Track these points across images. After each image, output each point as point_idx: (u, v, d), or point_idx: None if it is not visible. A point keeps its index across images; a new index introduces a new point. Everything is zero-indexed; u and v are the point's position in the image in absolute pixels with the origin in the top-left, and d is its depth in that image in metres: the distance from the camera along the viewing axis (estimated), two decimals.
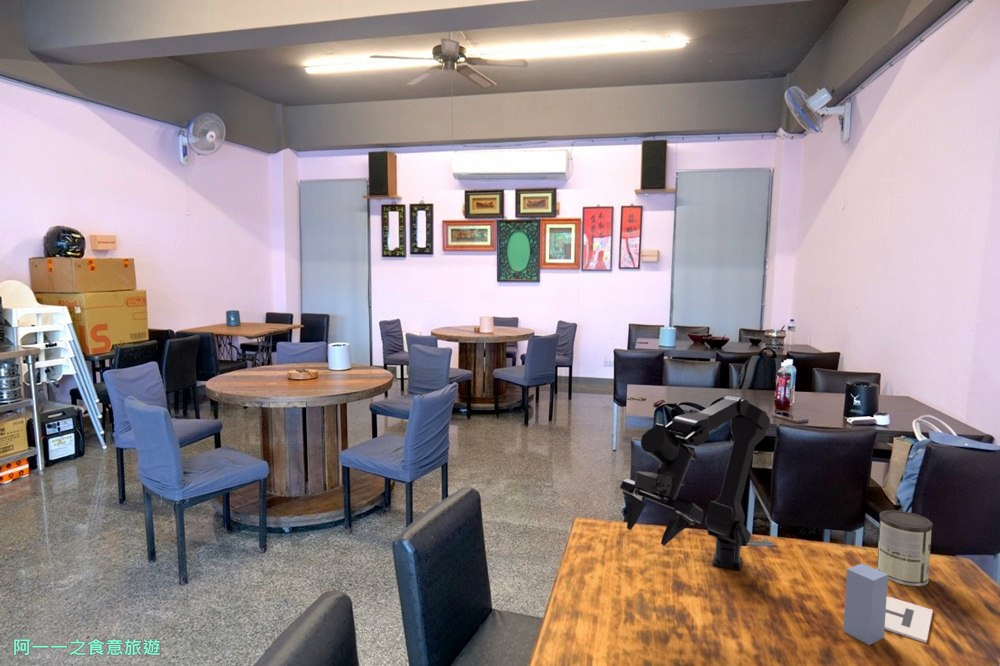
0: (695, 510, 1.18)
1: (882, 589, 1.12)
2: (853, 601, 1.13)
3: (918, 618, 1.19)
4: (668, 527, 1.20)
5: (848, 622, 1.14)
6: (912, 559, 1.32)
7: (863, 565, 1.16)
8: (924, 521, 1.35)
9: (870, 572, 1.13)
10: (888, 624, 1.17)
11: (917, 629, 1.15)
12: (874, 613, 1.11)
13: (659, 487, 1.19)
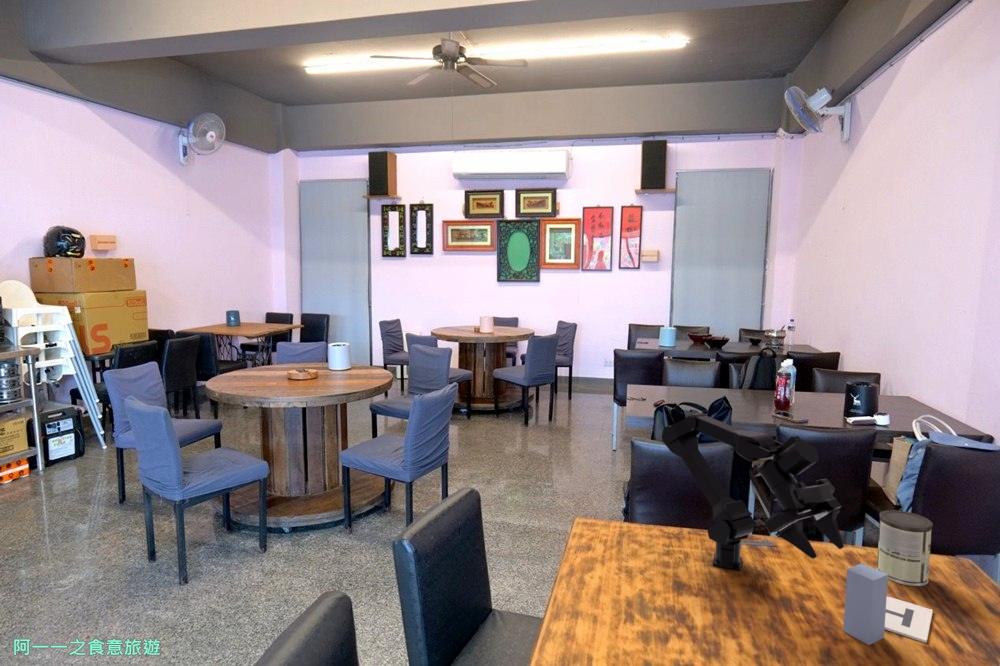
0: None
1: (882, 589, 1.12)
2: (853, 601, 1.13)
3: (918, 618, 1.19)
4: (836, 529, 1.24)
5: (848, 622, 1.14)
6: (912, 559, 1.32)
7: (863, 565, 1.16)
8: (924, 521, 1.35)
9: (870, 572, 1.13)
10: (888, 624, 1.17)
11: (917, 629, 1.15)
12: (874, 613, 1.11)
13: (833, 490, 1.22)
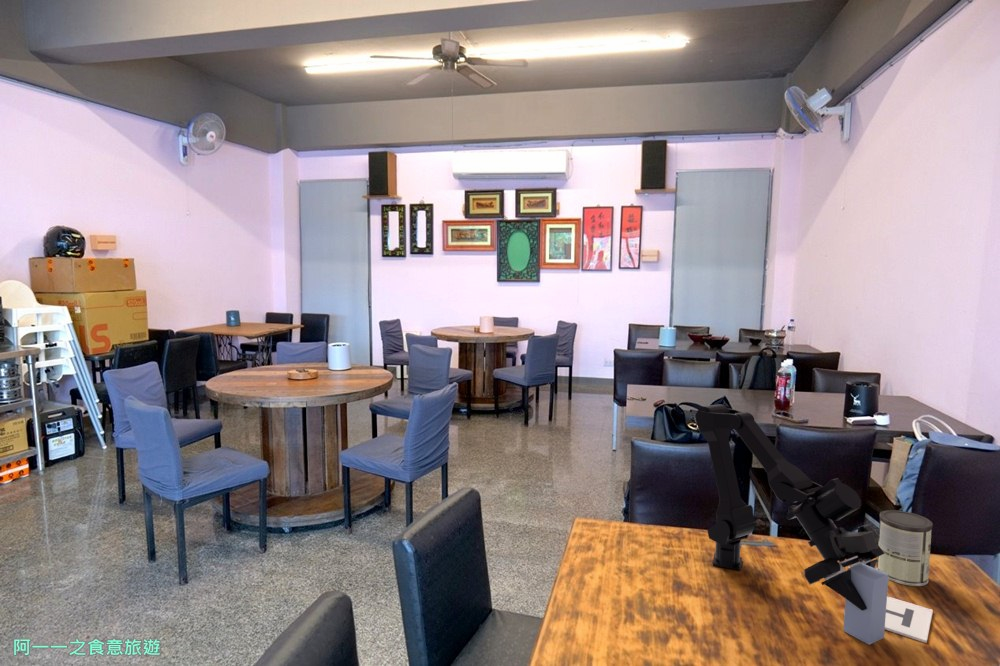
0: None
1: (882, 589, 1.12)
2: None
3: (918, 618, 1.19)
4: None
5: (848, 622, 1.14)
6: (912, 559, 1.32)
7: (863, 565, 1.16)
8: (924, 521, 1.35)
9: (871, 572, 1.13)
10: (888, 624, 1.17)
11: (917, 629, 1.15)
12: (874, 613, 1.11)
13: (876, 538, 1.15)
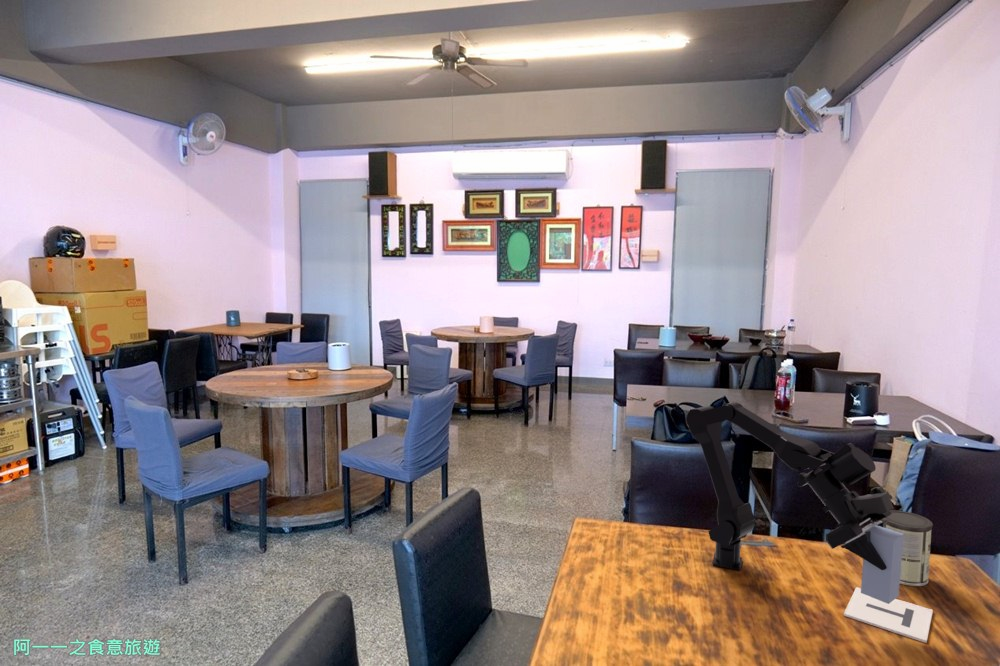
0: None
1: (899, 548, 1.14)
2: None
3: (918, 618, 1.19)
4: None
5: (866, 583, 1.16)
6: (912, 559, 1.32)
7: (878, 527, 1.18)
8: (924, 521, 1.35)
9: (888, 533, 1.15)
10: (888, 624, 1.17)
11: (917, 629, 1.15)
12: (893, 572, 1.13)
13: None
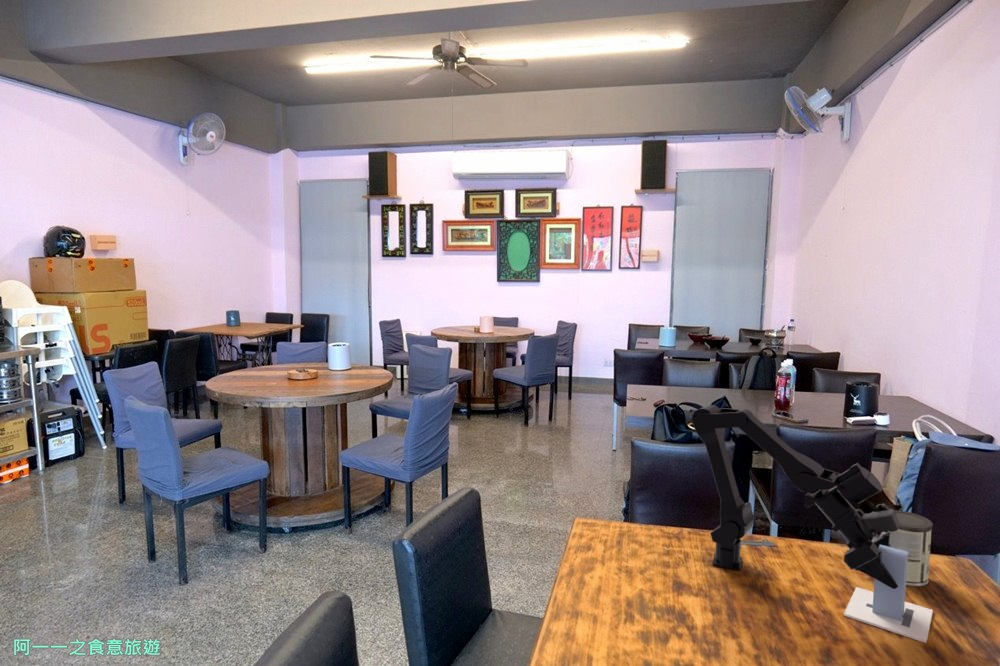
0: None
1: (906, 566, 1.19)
2: None
3: (918, 618, 1.19)
4: None
5: (877, 603, 1.20)
6: (912, 559, 1.32)
7: (883, 546, 1.23)
8: (924, 521, 1.35)
9: (895, 552, 1.20)
10: (888, 624, 1.17)
11: (917, 629, 1.15)
12: (903, 590, 1.18)
13: None
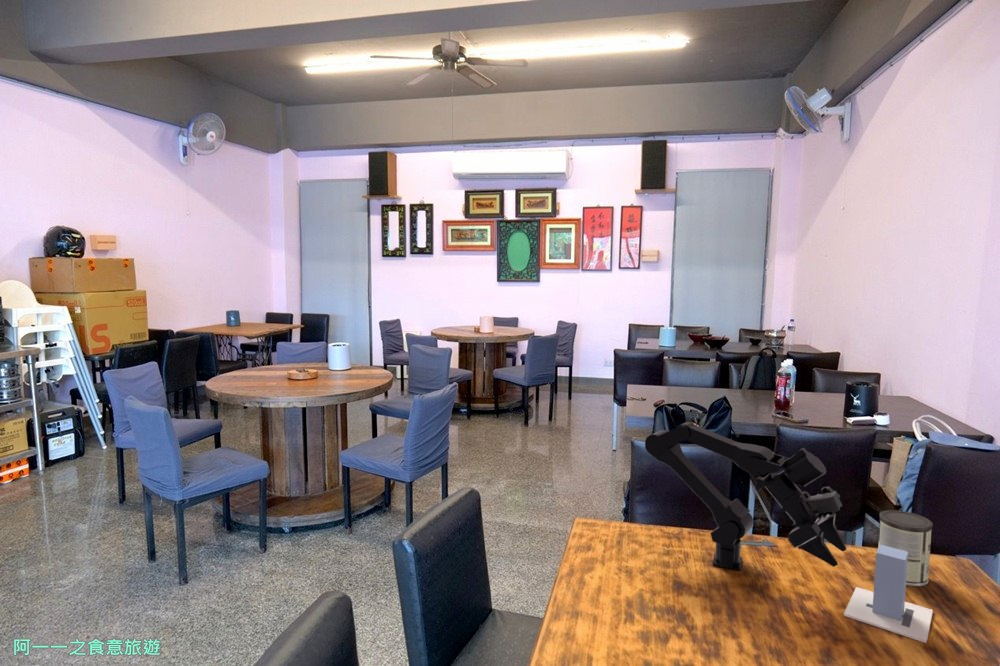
0: None
1: (906, 566, 1.19)
2: (883, 582, 1.19)
3: (918, 618, 1.19)
4: (837, 532, 1.31)
5: (877, 603, 1.20)
6: (912, 559, 1.32)
7: (883, 546, 1.23)
8: (924, 521, 1.35)
9: (895, 552, 1.20)
10: (888, 624, 1.17)
11: (917, 629, 1.15)
12: (903, 590, 1.18)
13: None
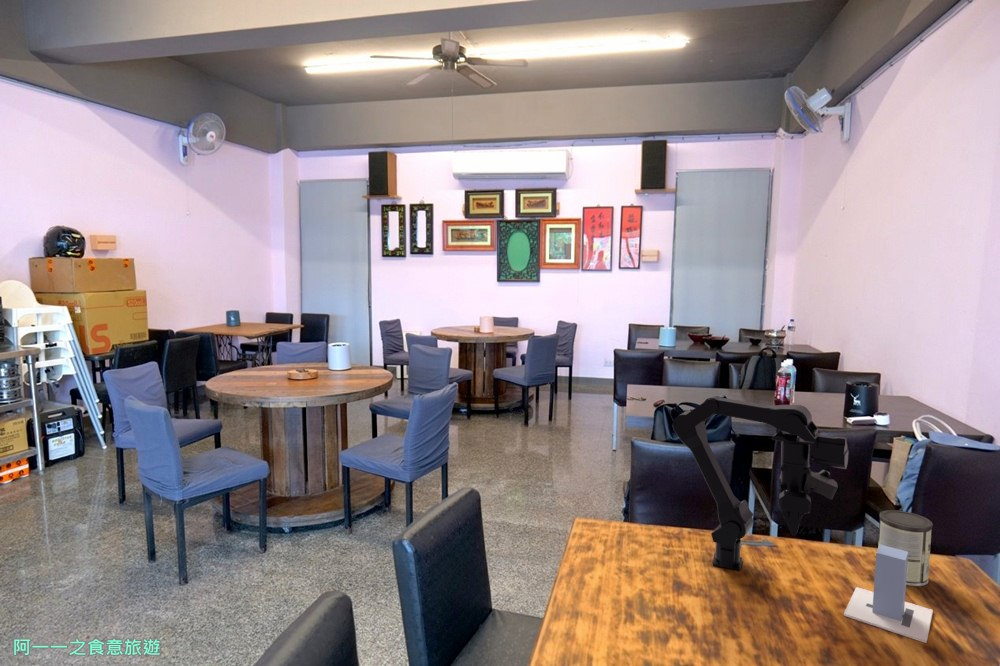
0: None
1: (906, 566, 1.19)
2: (883, 582, 1.19)
3: (918, 618, 1.19)
4: None
5: (877, 603, 1.20)
6: (912, 559, 1.32)
7: (883, 546, 1.23)
8: (924, 521, 1.35)
9: (895, 552, 1.20)
10: (888, 624, 1.17)
11: (917, 629, 1.15)
12: (903, 590, 1.18)
13: None
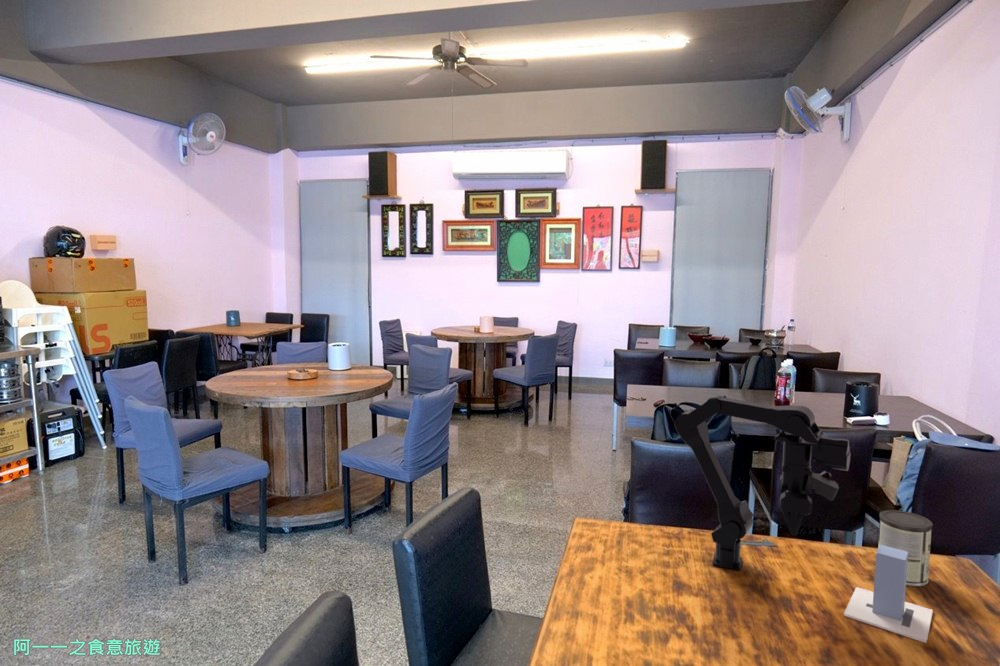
0: None
1: (906, 566, 1.19)
2: (883, 582, 1.19)
3: (918, 618, 1.19)
4: None
5: (877, 603, 1.20)
6: (912, 559, 1.32)
7: (883, 546, 1.23)
8: (924, 521, 1.35)
9: (895, 552, 1.20)
10: (888, 624, 1.17)
11: (917, 629, 1.15)
12: (903, 590, 1.18)
13: None
